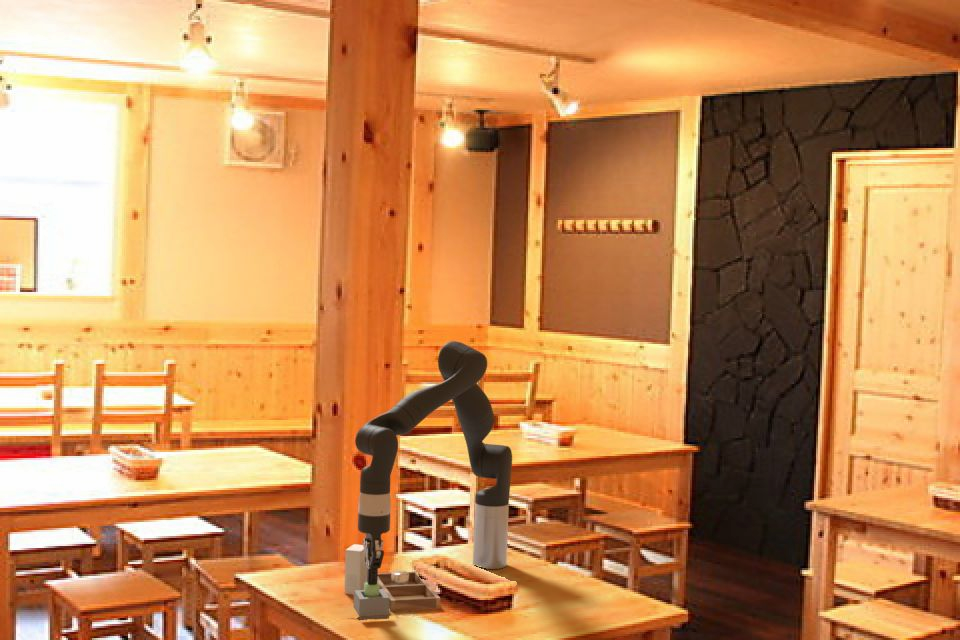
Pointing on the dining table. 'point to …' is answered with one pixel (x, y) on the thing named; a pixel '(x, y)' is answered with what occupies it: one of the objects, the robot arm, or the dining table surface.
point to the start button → (371, 590)
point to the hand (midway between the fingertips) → (372, 583)
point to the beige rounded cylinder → (399, 578)
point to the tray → (409, 593)
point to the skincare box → (355, 569)
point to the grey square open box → (371, 605)
